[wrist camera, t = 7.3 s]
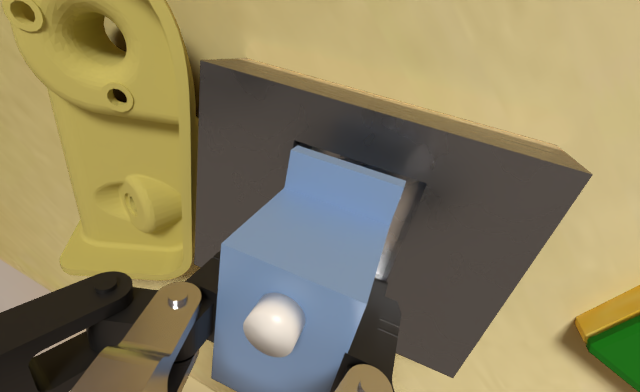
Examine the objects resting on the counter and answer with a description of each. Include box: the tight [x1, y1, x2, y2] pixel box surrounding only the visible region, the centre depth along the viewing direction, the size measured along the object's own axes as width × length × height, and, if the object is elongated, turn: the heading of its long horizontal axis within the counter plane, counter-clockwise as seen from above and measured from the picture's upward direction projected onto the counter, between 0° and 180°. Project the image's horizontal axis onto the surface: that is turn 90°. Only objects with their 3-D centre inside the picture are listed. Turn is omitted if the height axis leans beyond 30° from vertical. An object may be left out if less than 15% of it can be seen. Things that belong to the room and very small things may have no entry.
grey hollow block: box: [194, 58, 593, 378], centre depth 17 cm, size 16×12×4 cm
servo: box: [211, 145, 406, 392], centre depth 12 cm, size 4×9×8 cm, turn 167°
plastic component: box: [2, 0, 199, 281], centre depth 20 cm, size 20×7×10 cm
